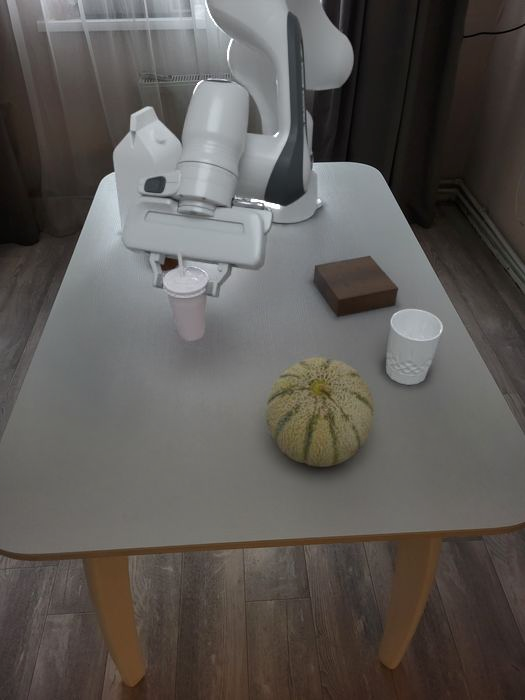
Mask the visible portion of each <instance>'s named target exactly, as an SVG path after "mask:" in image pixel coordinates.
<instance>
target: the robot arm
mask: <svg viewBox="0 0 525 700" xmlns="http://www.w3.org/2000/svg"><path fill="white" fill-rule="evenodd" d="M205 6H206V8H207V12H208V14H209V16H210V18H211V19H212V21H213V22H214V25H216V27H218V29H219V30H221V31H222V32H223V34H225V35H226V36H227V37H229V38H230V42H229V45H228V48H227V64H228V67H229V70H230V72H231V74H232V76H233V78H234V79H235V80H236V81H237V82H234V81H232V80H228V79H222V78H207V79H202V80H200V81H199V82H198V83H197V85H196V86H195V88H194V90H193V92H192V95H191V97H190V101H189V105H188V108H187V110H186V115H185V118H184V119H185V120H184V124H183V128H182V132H181V133H182V134H181V145H182V153H181V156H180V158H179V160H178V162H177V164H176V169H175V171H172V172H168V173H164V174H160V175H156V176H151V177H146V178H142V179H140V180H139V182H138V185H137V191H138V193H139V194H140V195H141V196H140V197H138V198H136V199H135V200H134V201H133V202H132V204H131V206H130V208H129V211H128V214H127V217H126V221H125V225H124V229H123V234H122V233H121V241H122V244H123V246H124V248H126V249H127V250H129V251H130V252H132V253H135V254H142V255H147V256H149V259H148V261H149V264H150V267H151V269H152V272H153V280H152V287H153V288H155V289H161V290H164V288H163V278H164V276H165V275H166V274H164V273H163V270H161V266H160V264H164V261H165V257H167V258H174V259H178V254H177V250H178V249H180V250H181V253H182V261H189V262H195V263H203V264H209V265H216V266H217V271H218V272H219V274H218V275H217V276H216V277H215V279H214V280H213V282H212V281H209V282H207V289H206V292H205V294H206V295H207V297H211V298H216V299H217V298H219V297H220V292H221V287H223V285H224V283H226V281H227V280H228V279H229V278H230V277H231V275H232V271H233V268H236V269H243V270H249V271H260V269H261V268H262V267H264V265H265V261H266V255H267V254H266V253H267V238H268V237H267V234H269V233H270V232H271V229H272V227H273V223H278V224H295V223H300V222H304V221H306V220H309V219H310V218H311V217H313V216H314V214H315V213H316V211H317V210H318V209H320V208H321V207H322V206H323V201H322V200H321V199H320V198H318V174H317V172H315V171H314V170H313V168H314V152H313V149H312V148H313V133H314V132H313V131H314V120H313V117H312V115H311V114H310V112H309V111H308V109H307V92H306V91H326V90H333V89H339V88H341V87H342V86H343V85H344V84H345V83H346V81H347V80H348V79H349V77H350V75H351V74H352V72H353V68H354V67H353V66H354V60H355V58H354V57H355V56H354V50H353V46H352V43H351V41H350V40H349V38H348V37H347V35H346V34H344V33H342V31H341V30H339V29H338V28H337V26H335V25H334V24H333V23H332V21H331V20H330V19H329V17H328V16H327V14H326V12H325V10H324V7H323V5H322V2H321V0H205ZM250 96H251V98H252V99H253V101H254V102H255V105H256V108H257V110H258V112H259V116H260V122H261V133H262V134H261V133H251V132H248V128H249V118H250V117H249V116H250Z"/></svg>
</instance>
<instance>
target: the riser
mask: <svg viewBox="0 0 525 700" xmlns="http://www.w3.org/2000/svg"><path fill="white" fill-rule="evenodd" d="M313 284H314V285H315V287H316V288H317V290H318V291H319V293H320V294H321V295H322V297H323V299H324V300H325V301H326V304H327V305H328V306H329V307H330V309H331V310H332V312H333V313H334V314H335V316H336V317H337V318H338V317H343V316H348V315H349V316H350V315H354V314H358V313H363V312H368V311H369V312H370V311H373V310H378V309H382V308H388V307H393V306H395V305H396V301H397V297H398V291H399V287H398V286H397V285H396V283H395V282H394V281H393V280H392V279H391V278H390V276H389V275H387V273H386V272H385V271H384V270H383V269H382V268H381V266H380V265H379V264H378V263H377V262H376V261H375V260H374V259H373V257H372V256H371V255H365V256H361V257H353V258H348V259H343V260H337V261H331V262H327V263H321V264H320V263H319V264H316V265H314V270H313Z"/></svg>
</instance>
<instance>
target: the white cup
mask: <svg viewBox="0 0 525 700" xmlns="http://www.w3.org/2000/svg"><path fill="white" fill-rule="evenodd" d="M443 330H444V326H443V323H442V321H441V319H439V318H438V317H437V316H436V315H435V314H433V313H431V312H428V311H427V310H424V309H418V308H405V309H401V310H399V311H397V312H395V313H394V314H393V315H392V316H391V318H390V323H389V331H388V339H387V345H386V357H385V358H386V360H385V372H386V375H387V376H388V377H389V378H390V379H391V380H393V381H394V382H396V383H398V384H400V385H407V386H413V385H419V384H420V383H422V382H423V381H425V379H426V377H427V375H428V373H429V369H430V367H431V365H432V363H433V360H434V357H435V355H436V352H437V348H438V346H439V343H440V340H441V336H442V333H443Z"/></svg>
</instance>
